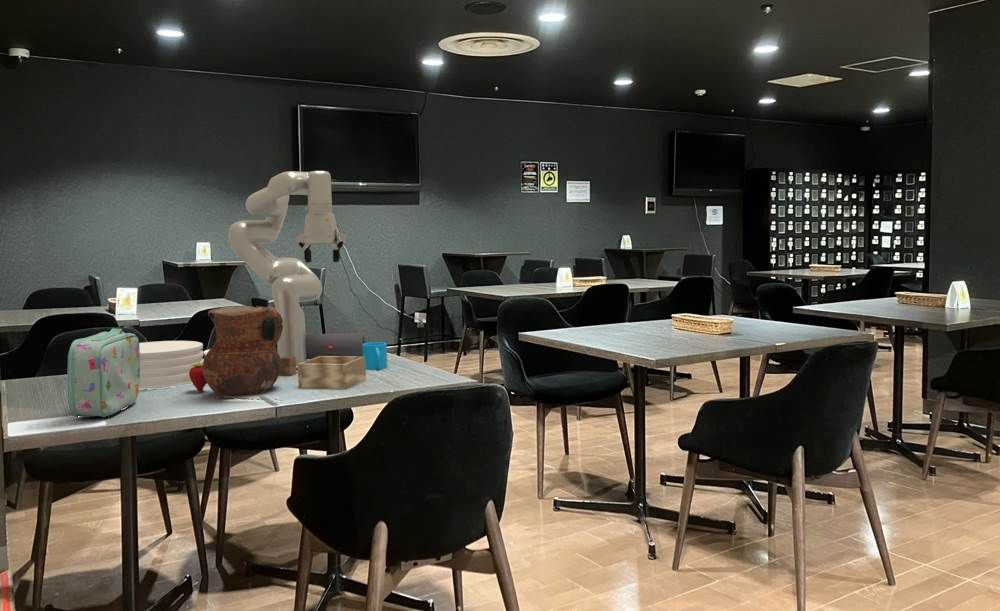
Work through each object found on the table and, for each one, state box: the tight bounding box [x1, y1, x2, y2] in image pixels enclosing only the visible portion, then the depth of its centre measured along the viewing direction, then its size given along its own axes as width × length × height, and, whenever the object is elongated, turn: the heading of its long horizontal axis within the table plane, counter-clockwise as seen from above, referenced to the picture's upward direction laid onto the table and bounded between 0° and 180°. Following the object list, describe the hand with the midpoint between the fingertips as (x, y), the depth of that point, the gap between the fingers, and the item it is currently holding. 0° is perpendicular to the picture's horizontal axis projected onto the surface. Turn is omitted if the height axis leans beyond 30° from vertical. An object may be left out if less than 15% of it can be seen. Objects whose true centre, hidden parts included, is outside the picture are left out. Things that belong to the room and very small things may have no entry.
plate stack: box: [139, 340, 205, 388], centre depth 262 cm, size 28×28×12 cm
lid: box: [278, 356, 298, 377], centre depth 265 cm, size 16×16×7 cm
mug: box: [362, 341, 388, 371], centre depth 280 cm, size 12×8×8 cm
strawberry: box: [189, 357, 208, 392], centre depth 245 cm, size 6×8×10 cm
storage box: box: [297, 356, 367, 390], centre depth 248 cm, size 15×15×8 cm
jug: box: [202, 305, 283, 399], centre depth 239 cm, size 22×21×25 cm
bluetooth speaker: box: [305, 332, 366, 360], centre depth 298 cm, size 23×9×10 cm, turn 95°
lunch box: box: [66, 327, 140, 418], centre depth 219 cm, size 27×10×21 cm, turn 4°
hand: (322, 262), depth 272 cm, fingers open, 9 cm apart
